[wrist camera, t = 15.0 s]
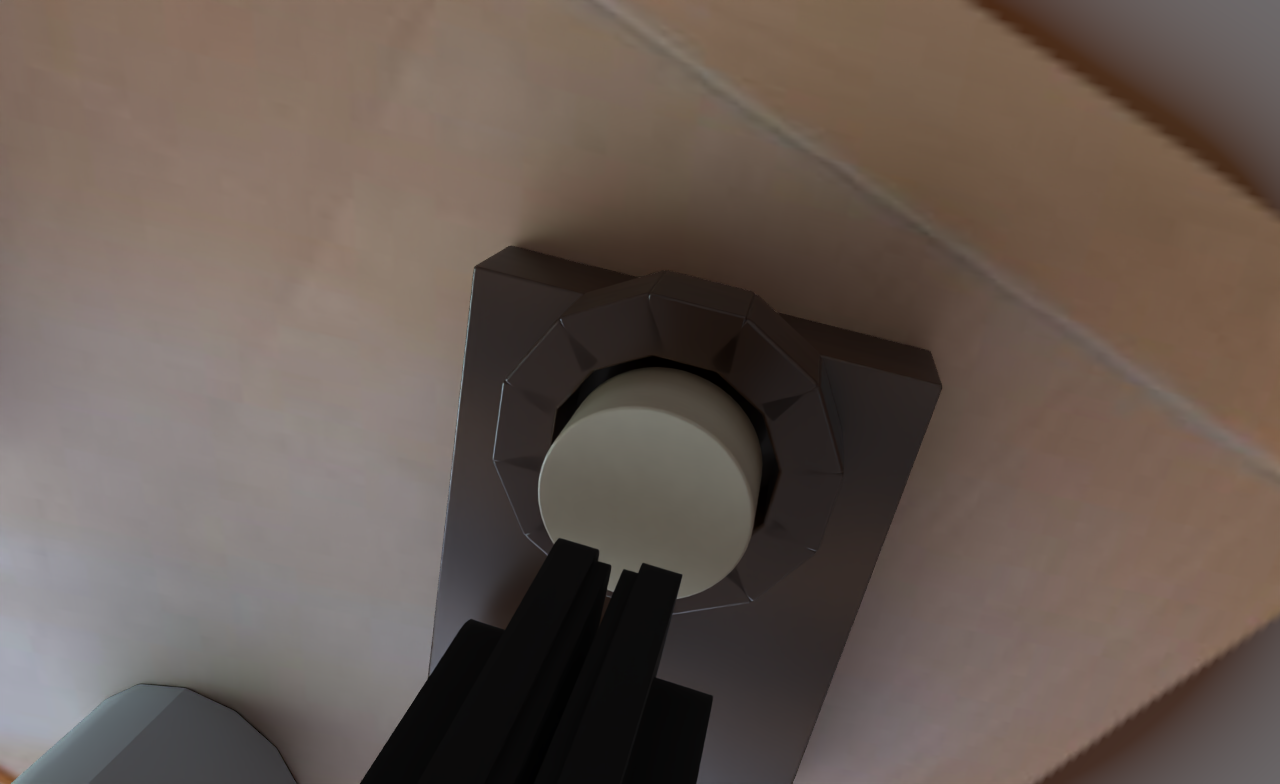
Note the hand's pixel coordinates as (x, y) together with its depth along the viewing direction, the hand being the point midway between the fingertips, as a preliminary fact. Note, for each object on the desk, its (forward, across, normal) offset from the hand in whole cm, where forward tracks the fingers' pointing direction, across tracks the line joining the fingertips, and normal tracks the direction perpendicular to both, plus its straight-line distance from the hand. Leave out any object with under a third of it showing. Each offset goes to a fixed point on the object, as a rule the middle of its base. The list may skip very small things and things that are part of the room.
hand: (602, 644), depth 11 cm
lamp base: (+10, 0, +5) cm, 11 cm away
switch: (+6, 0, +1) cm, 6 cm away
